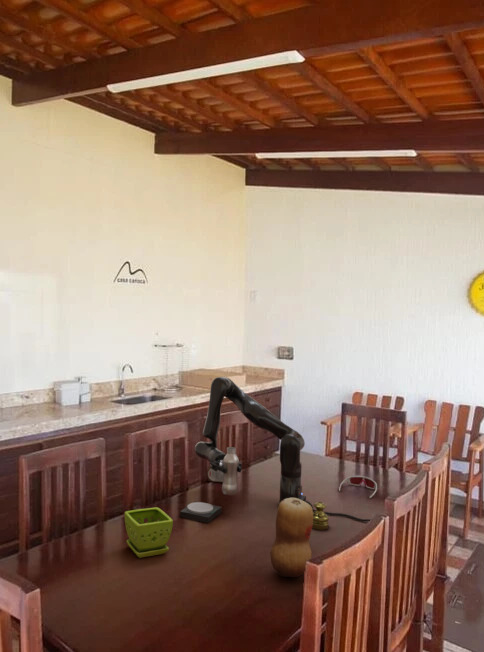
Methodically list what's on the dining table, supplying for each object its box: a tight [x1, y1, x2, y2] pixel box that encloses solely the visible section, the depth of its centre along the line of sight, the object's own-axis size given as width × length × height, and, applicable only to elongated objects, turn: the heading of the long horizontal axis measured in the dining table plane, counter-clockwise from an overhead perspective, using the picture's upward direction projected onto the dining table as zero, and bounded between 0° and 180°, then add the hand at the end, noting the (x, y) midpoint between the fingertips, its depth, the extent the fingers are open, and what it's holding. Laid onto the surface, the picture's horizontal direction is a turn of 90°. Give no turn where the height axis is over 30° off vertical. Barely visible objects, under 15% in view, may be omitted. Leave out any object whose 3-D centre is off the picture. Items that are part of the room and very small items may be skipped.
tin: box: [206, 466, 224, 483], centre depth 272 cm, size 15×3×8 cm, turn 84°
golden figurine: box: [312, 501, 330, 531], centre depth 220 cm, size 7×7×10 cm
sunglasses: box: [338, 475, 378, 499], centre depth 268 cm, size 17×17×5 cm
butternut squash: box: [269, 498, 314, 578], centre depth 178 cm, size 14×13×25 cm
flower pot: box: [124, 506, 174, 559], centre depth 192 cm, size 14×14×13 cm
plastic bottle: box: [221, 446, 240, 496], centre depth 229 cm, size 6×7×20 cm
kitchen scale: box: [179, 500, 223, 524], centre depth 228 cm, size 13×14×3 cm
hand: (232, 470), depth 226 cm, fingers closed on plastic bottle, 6 cm apart
